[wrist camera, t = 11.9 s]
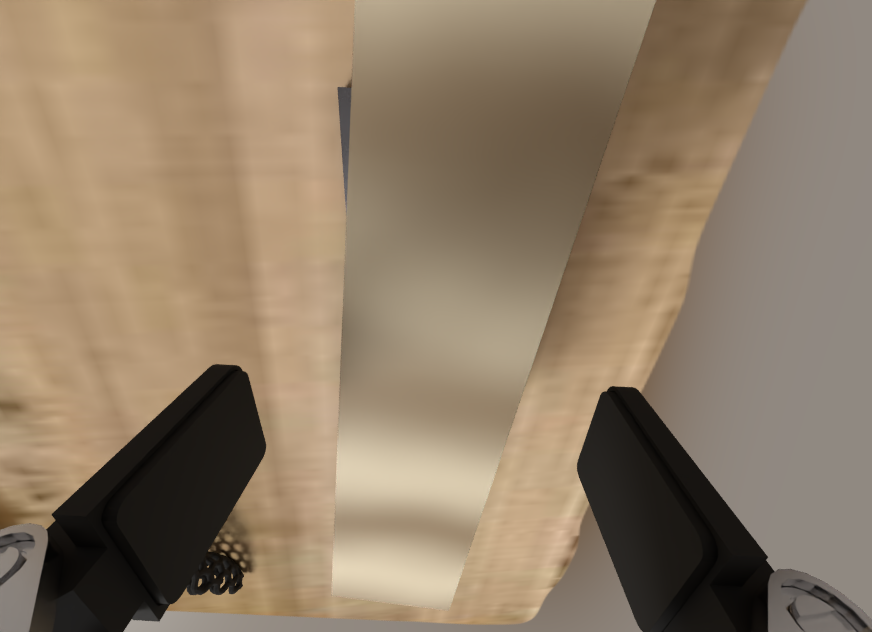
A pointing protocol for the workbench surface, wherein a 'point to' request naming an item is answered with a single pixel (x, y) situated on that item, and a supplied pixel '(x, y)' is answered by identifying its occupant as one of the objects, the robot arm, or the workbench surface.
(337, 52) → the workbench surface
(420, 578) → the maple bar
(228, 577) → the decorative element
